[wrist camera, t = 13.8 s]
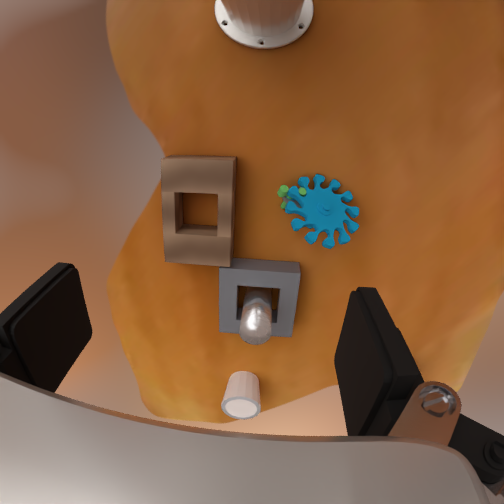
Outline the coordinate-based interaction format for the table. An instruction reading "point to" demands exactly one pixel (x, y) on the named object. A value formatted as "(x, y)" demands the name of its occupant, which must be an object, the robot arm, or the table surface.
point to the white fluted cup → (242, 396)
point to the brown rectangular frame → (174, 231)
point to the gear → (320, 210)
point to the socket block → (259, 276)
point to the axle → (256, 315)
